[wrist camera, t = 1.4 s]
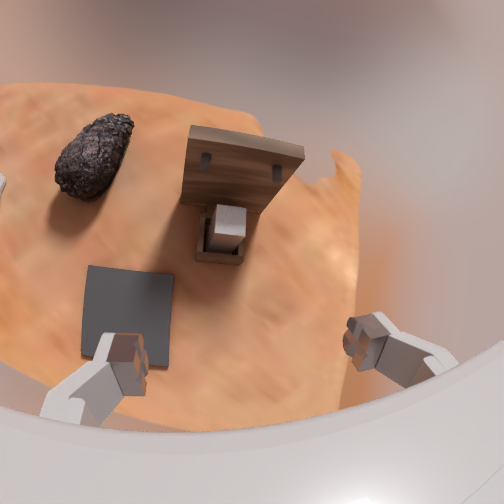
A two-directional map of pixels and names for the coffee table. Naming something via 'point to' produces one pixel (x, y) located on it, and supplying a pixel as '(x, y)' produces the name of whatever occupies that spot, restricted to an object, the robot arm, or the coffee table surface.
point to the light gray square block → (226, 229)
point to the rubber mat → (128, 309)
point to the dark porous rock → (94, 157)
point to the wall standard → (234, 176)
